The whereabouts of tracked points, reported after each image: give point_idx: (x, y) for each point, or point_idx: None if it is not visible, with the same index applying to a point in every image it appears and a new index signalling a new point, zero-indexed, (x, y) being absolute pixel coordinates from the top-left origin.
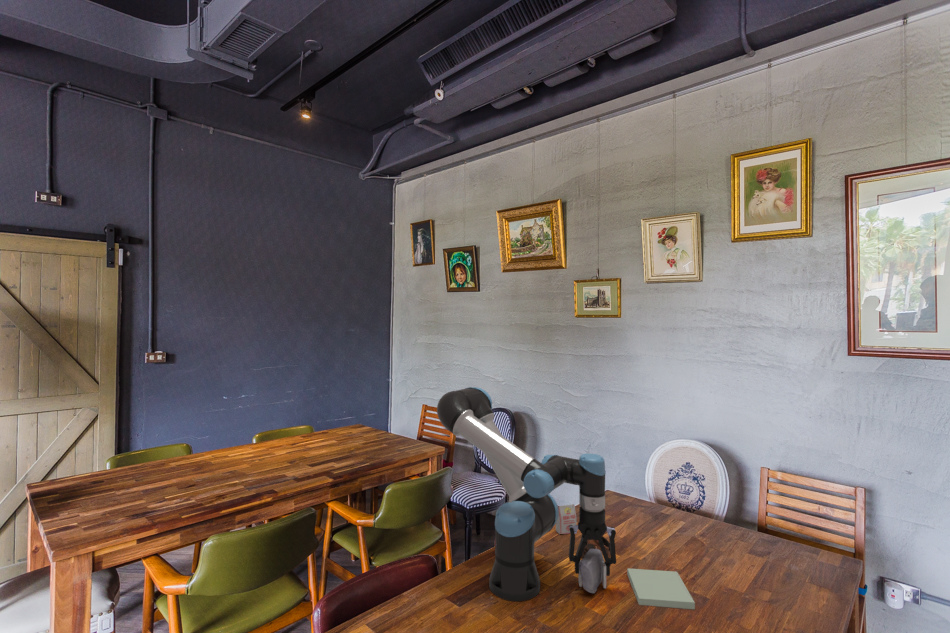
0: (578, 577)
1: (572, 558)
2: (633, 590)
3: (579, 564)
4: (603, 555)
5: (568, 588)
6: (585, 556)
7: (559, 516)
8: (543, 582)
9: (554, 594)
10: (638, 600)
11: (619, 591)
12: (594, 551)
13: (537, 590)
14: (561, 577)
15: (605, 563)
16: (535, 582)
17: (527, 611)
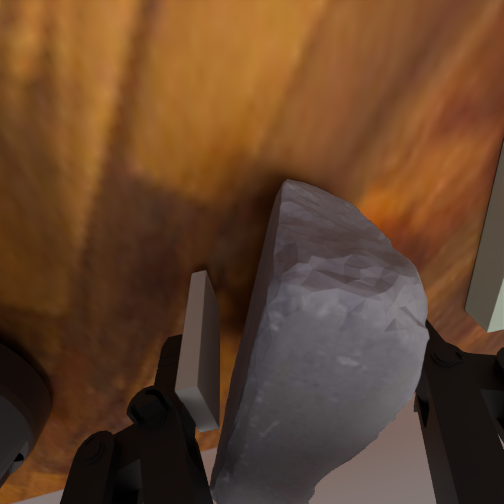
0: (190, 292)
1: (136, 491)
2: (489, 219)
3: (211, 493)
4: (438, 494)
5: (153, 305)
6: (246, 464)
7: None
8: (10, 304)
9: (111, 359)
10: (478, 316)
11: (408, 242)
12: (345, 392)
13: (42, 416)
14: (73, 225)
15: None
16: (13, 460)
17: (72, 447)
